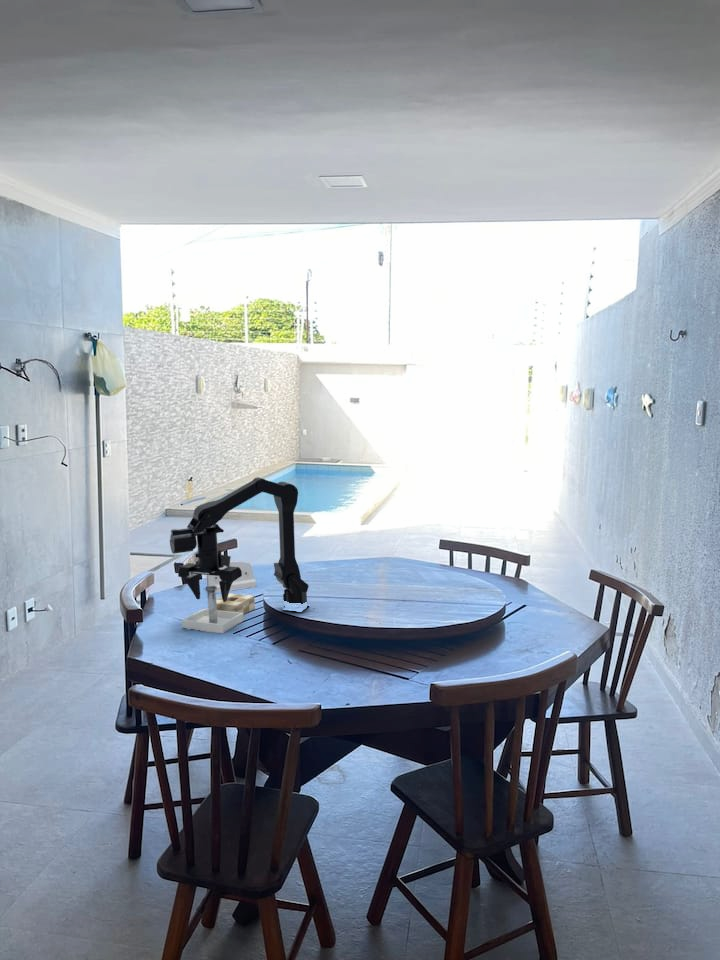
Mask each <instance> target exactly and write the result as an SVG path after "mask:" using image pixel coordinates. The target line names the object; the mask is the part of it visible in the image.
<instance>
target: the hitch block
mask: <svg viewBox="0 0 720 960" xmlns="http://www.w3.org/2000/svg"><path fill="white" fill-rule="evenodd" d="M255 602H256V599H255V595H251V594H249V595H248V594H239V593H238V594H237V593H230V592H229V594H228V597H227V601H226V602H223V599H222V595H221V596H219V597H216V605H217V610H220V611H229V612H238V613H243V616H244V615H246V614H248V613H249V612H252V611H253V610H255V609H256V604H255Z"/></svg>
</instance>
